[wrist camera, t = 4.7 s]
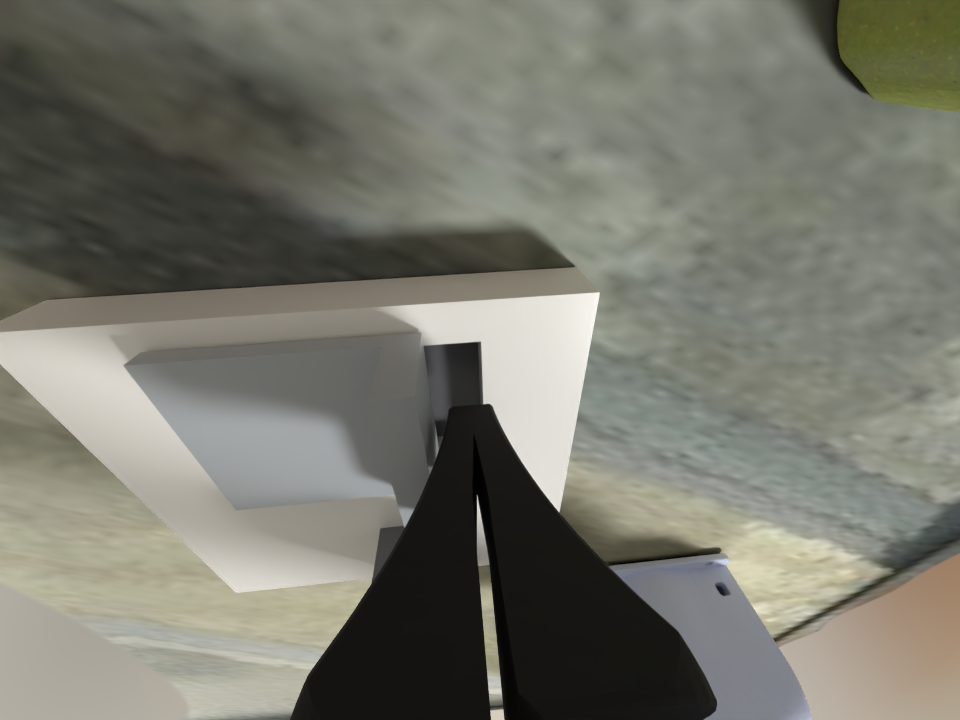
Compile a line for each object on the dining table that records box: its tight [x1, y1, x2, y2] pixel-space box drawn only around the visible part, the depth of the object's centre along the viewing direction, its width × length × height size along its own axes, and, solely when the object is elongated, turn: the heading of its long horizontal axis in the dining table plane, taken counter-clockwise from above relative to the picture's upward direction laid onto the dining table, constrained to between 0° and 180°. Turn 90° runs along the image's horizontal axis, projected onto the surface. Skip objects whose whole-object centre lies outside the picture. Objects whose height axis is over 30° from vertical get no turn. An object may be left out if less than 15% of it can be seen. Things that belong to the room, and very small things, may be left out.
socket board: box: [0, 267, 600, 593], centre depth 14 cm, size 16×15×2 cm
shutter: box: [123, 332, 439, 528], centre depth 10 cm, size 7×6×3 cm
